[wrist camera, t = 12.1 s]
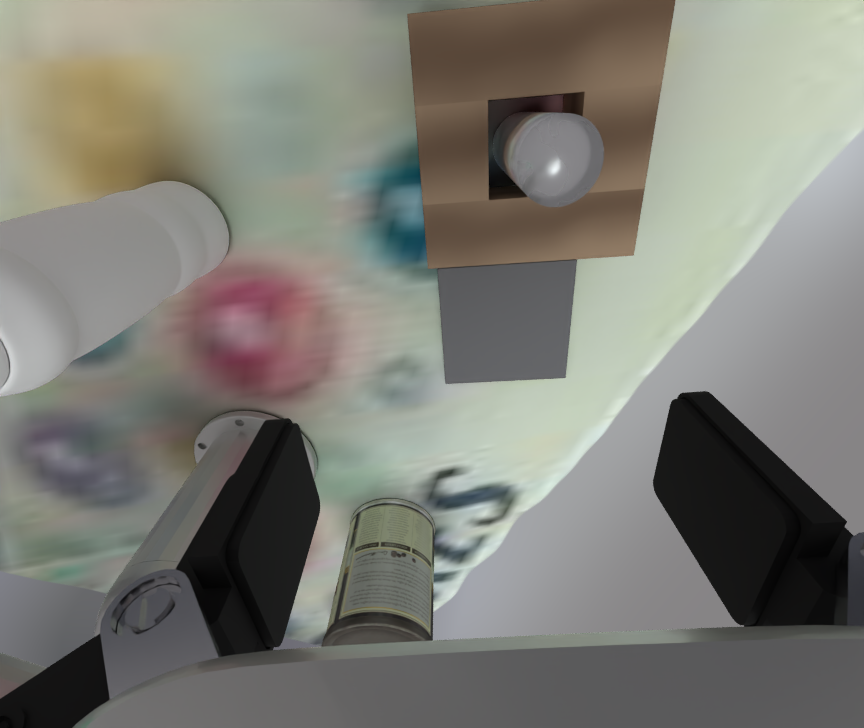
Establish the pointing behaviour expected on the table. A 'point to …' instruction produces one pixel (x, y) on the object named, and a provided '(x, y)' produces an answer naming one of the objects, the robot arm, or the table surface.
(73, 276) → the water bottle
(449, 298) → the rubber mat
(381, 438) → the table surface
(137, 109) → the table surface
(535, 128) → the steel peg
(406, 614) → the coffee can
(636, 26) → the brown peg hole board
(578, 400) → the table surface
